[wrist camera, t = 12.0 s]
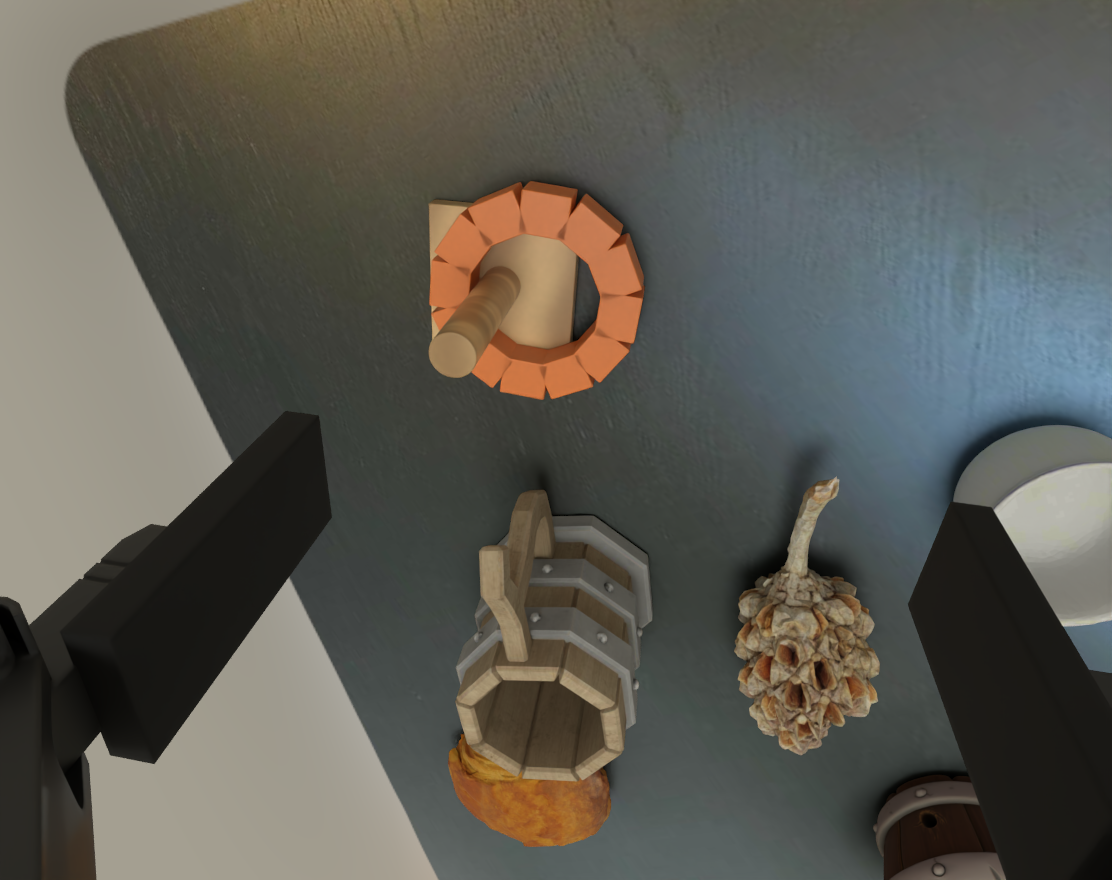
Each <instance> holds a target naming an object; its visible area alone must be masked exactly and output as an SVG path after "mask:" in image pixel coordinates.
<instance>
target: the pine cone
mask: <svg viewBox="0 0 1112 880" xmlns="http://www.w3.org/2000/svg"><path fill="white" fill-rule="evenodd" d="M836 478H837V477H836ZM836 478H834V479H830V480H824V481H818V482H817V483H815V484H814V485H813V486H812V487H810V488H809V489H808V490H807V491H806V492H805V494H804V496H803V502H802V504H801V506H800V510H799V514H798V518H797V520H796V522H795V526H794V530H793V533H792V536H791V542H790V544H789V547H788V549H787V550H788V552H789V555H788V559H787V561H786V563H785V566H783V567H781V569H782V570H780V571H778V572H776V574H772V573H770V574H769V576H768V578H766V577H763V576H761V577H760V578H759V579H757V581H756V582H755V585H756V588H754V589H751V590H747V591H744V592H743V593H742V595H741V596H740V597H739V601H740V603H739V608H740V614H739V616H738V618H739V620H740V621H741V622H742V623H743V624H745V625H744V627H743V628H742V629H741V631H740V632H739V634H738V637H737V639H736V640H735V644H736V645H737V646H736V648H735V650H734V651H735V653H736V654H737V656H738V657H740V658H742V659H744V660H746V661H747V663H746V664H745V666H744V667H743V668H742V669H741V670H740V673H739V676H738V680H739V681H741V682H740V689H739V690H740V691H741V692H742V693H744V694H745V695H746V696H747V697H749V698H753V699H755V700H754V703H753V704H752V706H751V707H750V708H749V710H750V715H751V716H752V717H753V718H754V719H756V720H757V721H758V727H759V728H760V729H761V731H762V732H763V734H766V735H771V736H774V735H777V736H778V739H779V745H780V746H781V747H782V748H783V749H788V748H789V750H791V751H793V752H795V753H797V754H799V755H802V754H804V753H806V752H807V749H813V748H818V747H820V746H821V745H822V743H821V739H822V738H823V737H824V736H827V734H828V728H829V727H830V726H831V722H832V723H833V724H834V725H836V726H840V727H842V726H843V725H844V723H845V720H844V717H843V715H845V714H846V715H847V716H849V717H850V716H851V715H852V716H855V717H866V715H867V714H868V712H869V709H870V706H871V704H873V703H876V702H878V698H877V693H876V691H875V689H874V687H873V686H872V684H871V683H870V681H869V679H870V678H872V677H874V676H876V675H878V674H879V664H880V662H879V661H878V658H877V656H876V654H875V652H874V650H873V649H872V648H870V647H869V646H868V644H867V642H866V640H865V639H866V638H867V637H868V636H869V634H870V633H871V632H872V630H873V627H874V625H875V624H874V623H873V621H872V619H871V617H870V616H869V609H867V608H865V607H863V606H861V605H860V601H859V600H858V599H856V598H854V597H855V594H856V589H857V588H856V587H855V586H853V585H851V584H850V583H848V582H844V579H843V578H841V577H837V576H836V577H833V578H830V577H828V576H823V577H821V576H820V575H819V574H817V573H815V571H813V570H810V569H809V568H807V563H808V548H809V542H810V538H811V535H812V533H813V531H814V528H815V524H816V520H817V517H818V515H819V513H820V512H821V511H822V509H823V508H824V506H825V505H826V504H827V502H828V501H830V500H831V499H833V498H835V497H836V495H837V493H838V490H839V479H836Z"/></svg>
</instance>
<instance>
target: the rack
mask: <svg viewBox="0 0 1112 880" xmlns="http://www.w3.org/2000/svg"><path fill="white" fill-rule="evenodd" d="M472 204H473V203H468V202H458V201H448V200H438V199H434V200H433V201H432V202H430V203H429V230H430V268H431V261H432V259H433V258H435V257H436V256H437V254H436V253H435V252H434V251H435V249H436V248H437V247H438V245H439V244H440V242H441V241H442V239H443V238H444V236H445V235H446V234H447V232H448V231H449V229H450V228H451V226H452V225H453V223H454V222H455V221H456V219H457V218H458V216H459V215H460V214H461V213H462V212H463V211H464V210H465V209H467V208H468V207H469V206H470V205H472ZM578 262H579V256H578V255H577V254H575V253H574V252H573V251H572V250H571V249H569V248H568V247H567V246H566V245H564V244H563V243H562V242H561V241H560V240H555V239H550V238H544V237H539V236H533V235H527V234H522V235H519V236H517V237H514V238H512V239H509V240H506V241H504V242H501V243H499V244H496V245H493V246H492V248H491V249H490V250H489V252H488V253H487V255H486V256H485V257H484V259H483V260H482V261H481V264H480V276H479V282H478V283H477V285H476V286H475V287H474V288H473V290H472V291H471V292H470V293H469V295H468V296H467V297H466V298H465V300H464V301H463V302H462V303H461V305H460V306H459V307H458V308H457V310H456V311H455V312H454V313H453V315H452V316H451V317H450V319H449V320H448V321H447V322H446V324H445V325H444V326H443V327H442V329H441V330H440V331H439V329H438V327H437V325H436V323H435V321H434V319H433V317H432V341H431V343H430V346H429V357H430V360H431V363H432V365H433V366H434V367H435V368H436V370H438V371H439V372H440V373H441V374H443V375H445V376H448V377H452V378H459V377H463V376H466V375H468V374H469V373H470V372H472V370H473V369H474V367H475V366H476V364H477V363H478V361H479V359H480V358H481V356H482V354H483V353H484V351H485V349H486V348H487V346H488V345H489V343H490V341H491V340H492V338H493V336H494V335H495V333H496V332H497V330H498V329H499V330H500V331H501V332H503V333H504V334H505V335H507V336H508V337H509V338H510V339H512V340H513V341H514V342H516V343H517V344H520V345H526V346H531V347H536V348H542V349H547V350H549V349H552V348H556V347H559V346H562V345H565V344H568V343H571V342H572V339H573V326H574V313H575V300H576V287H577V275H578ZM436 308H437V307H436V306H432V312H433V311H434V310H435V309H436Z"/></svg>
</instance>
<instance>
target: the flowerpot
mask: <svg viewBox="0 0 1112 880" xmlns="http://www.w3.org/2000/svg"><path fill="white" fill-rule="evenodd" d="M873 829H874V831H875V832H876V843H877V846H878V849H879V851H880V853H881V855H882V856H883V858H884V880H1006V878H1005V875H1004V872H1003V869H1002V866H1001V864H1000V861H999V858H998V855H997V852H996V850H995V847H994V844H993V841H992V838H991V836H990V833H989V830H988V827H987V824H986V822H985V819H984V816H983V813H982V810H981V808H980V805H979V802H978V799H977V796H976V794H975V791H974V788H973V785H972V782H971V780H970V777H967V776H956V777H954V778H953V779H951V778H949V777H948V776H945V775H931V776H925V777H921V778H917V779H914V780H911V781H909V782H907V783H905V784H903V785H901V786H900V787H898V789H897V791H896V793H892V794H891V795H889V797H888V798H887V800H886V804H885V805H884V807H883V808H882V809H881V811H880V813H879V815H878V819H877V823H876V824H875V825H874V826H873Z"/></svg>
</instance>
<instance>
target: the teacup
mask: <svg viewBox="0 0 1112 880" xmlns="http://www.w3.org/2000/svg"><path fill="white" fill-rule="evenodd" d="M953 502H959V503H966V504H973V505H981V506H988V507H992V508H993V510H994V512H995V514H996V515H997V517H998V519H999V520H1000V522H1001V524H1002V525H1003V527H1004V529H1005V530H1006V532H1007V534H1008V535H1009V537H1010V539H1011V540H1012V542H1013V544H1014V545H1015V547H1016V549H1017V550H1018V552H1019V554H1020V555H1021V557H1022V559H1023V560H1024V562H1025V564H1026V565H1027V567H1028V569H1029V570H1030V572H1031V574H1032V575H1033V577H1034V579H1035V580H1036V582H1037V584H1038V586H1039V587H1040V589H1041V591H1042V592H1043V594H1044V596H1045V597H1046V599H1047V601H1048V602H1049V604H1050V606H1051V607H1052V609H1053V611H1054V612H1055V614H1056V616H1057V617H1058V619H1059V621H1060V622H1061V624H1062V626H1081V625H1092V624H1095V623H1099V622H1104V621H1109V620H1112V439H1111V438H1109V437H1107V436H1105V435H1102V434H1100V433H1098V432H1095V431H1092V430H1089V429H1084V428H1080V427H1075V426H1067V425H1046V426H1039V427H1033V428H1028V429H1025V430H1021V431H1017V432H1015V433H1012V434H1010V435H1007V436H1005V437H1003V438H1001V439H999V440H997V441H996V442H994V443H992V444H991V445H990V446H988V447H987V448H985V449H984V450H983V451H981V452H980V453H979V454H978V455H977V456H976V457H975V458H974V459H973V460H972V461H971V463H970V464H969V465H968V466H967V468H966V469H965V471H964V472H963V474H962V475H961V477H960V479H959V482H958V484H957V487H956V490H955V493H954V499H953Z"/></svg>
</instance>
